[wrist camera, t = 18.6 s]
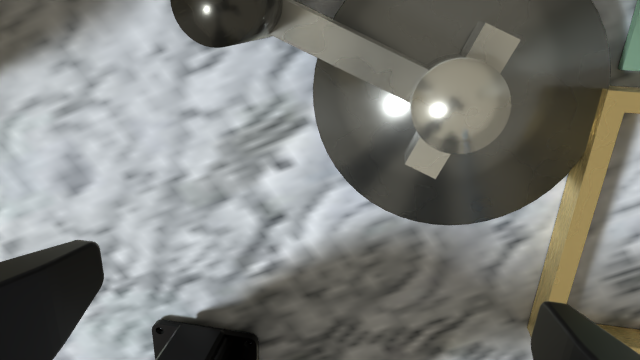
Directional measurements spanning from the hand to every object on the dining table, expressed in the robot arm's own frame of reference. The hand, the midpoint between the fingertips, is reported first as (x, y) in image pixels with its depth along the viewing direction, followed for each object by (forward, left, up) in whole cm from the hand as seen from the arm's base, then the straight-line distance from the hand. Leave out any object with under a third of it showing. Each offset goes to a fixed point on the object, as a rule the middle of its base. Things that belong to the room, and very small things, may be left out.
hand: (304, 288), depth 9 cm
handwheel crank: (+4, 0, -12) cm, 12 cm away
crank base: (+2, -4, -13) cm, 14 cm away
